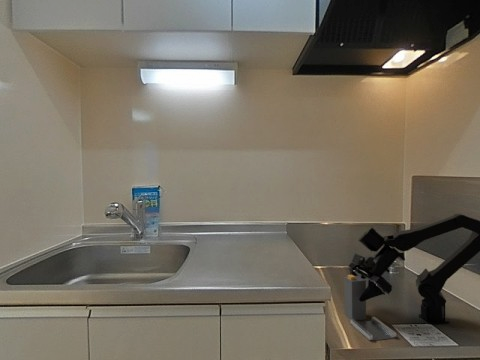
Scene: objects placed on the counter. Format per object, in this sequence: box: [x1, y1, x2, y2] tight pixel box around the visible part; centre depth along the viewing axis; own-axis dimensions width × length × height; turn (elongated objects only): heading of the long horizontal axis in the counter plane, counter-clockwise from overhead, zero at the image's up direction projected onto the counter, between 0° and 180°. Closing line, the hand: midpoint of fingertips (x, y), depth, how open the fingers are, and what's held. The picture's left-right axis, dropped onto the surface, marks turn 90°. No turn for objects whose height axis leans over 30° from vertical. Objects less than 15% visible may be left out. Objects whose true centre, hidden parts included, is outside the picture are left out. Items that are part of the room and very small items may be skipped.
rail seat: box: [349, 316, 397, 342], centre depth 100 cm, size 8×11×2 cm
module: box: [343, 274, 367, 321], centre depth 109 cm, size 5×5×14 cm
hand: (352, 295), depth 109 cm, fingers open, 9 cm apart
